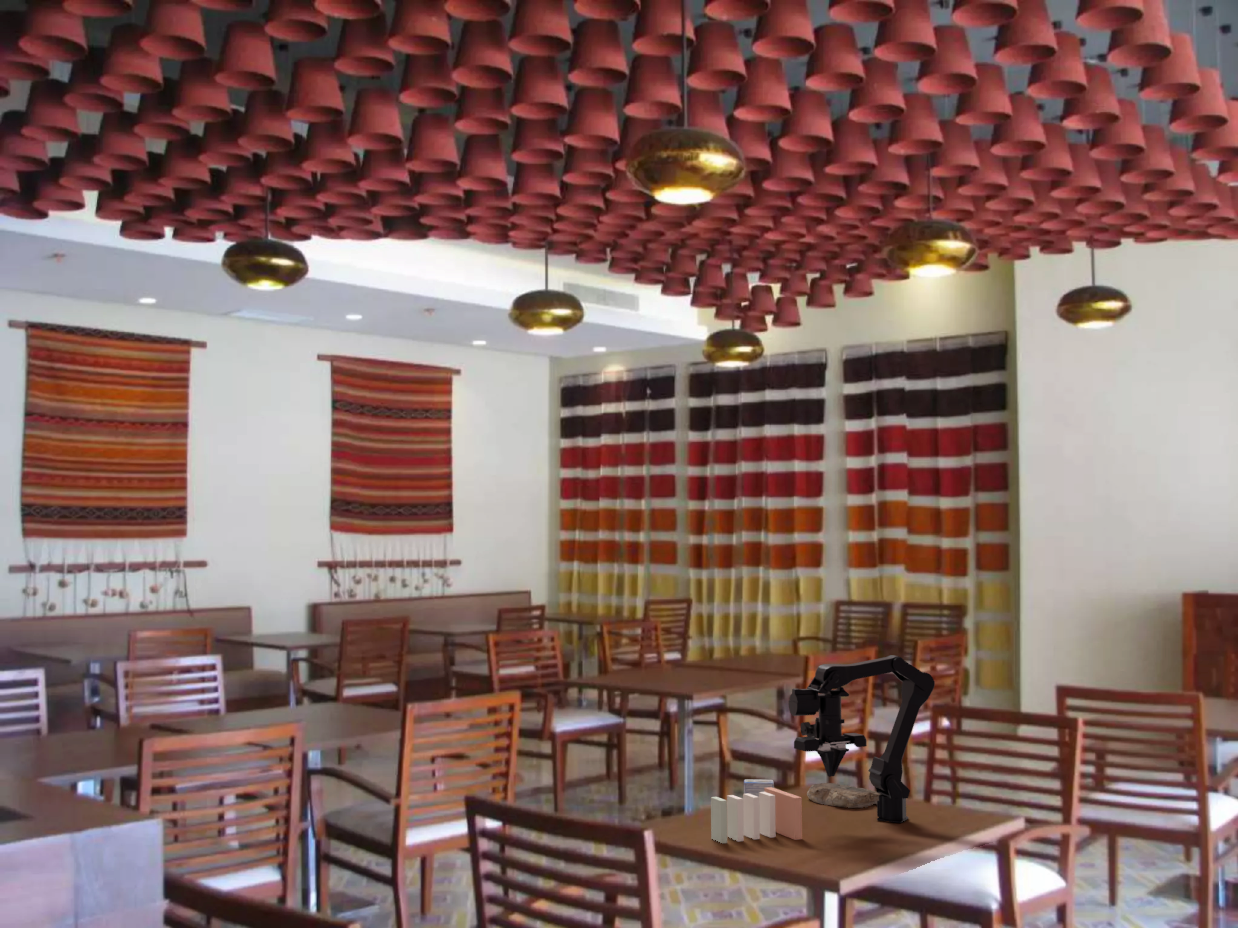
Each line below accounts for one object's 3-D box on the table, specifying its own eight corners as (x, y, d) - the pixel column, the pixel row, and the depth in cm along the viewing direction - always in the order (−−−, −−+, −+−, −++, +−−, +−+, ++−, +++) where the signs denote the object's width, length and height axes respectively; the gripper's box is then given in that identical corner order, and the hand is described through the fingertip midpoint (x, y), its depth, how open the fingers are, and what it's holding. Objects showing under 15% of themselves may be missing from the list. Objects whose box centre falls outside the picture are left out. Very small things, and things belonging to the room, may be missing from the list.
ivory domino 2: (749, 834, 308) (748, 793, 308) (759, 838, 303) (759, 796, 304) (743, 834, 307) (743, 793, 307) (753, 839, 302) (753, 797, 303)
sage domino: (717, 838, 304) (716, 796, 304) (727, 842, 299) (726, 800, 300) (711, 838, 303) (710, 796, 304) (721, 843, 299) (720, 800, 299)
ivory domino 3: (764, 832, 309) (764, 791, 310) (775, 836, 305) (775, 795, 305) (759, 833, 309) (758, 792, 309) (769, 837, 304) (769, 795, 305)
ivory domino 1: (733, 836, 306) (732, 794, 306) (743, 840, 301) (743, 798, 302) (727, 836, 305) (727, 795, 306) (737, 841, 300) (737, 799, 301)
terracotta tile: (771, 827, 315) (771, 786, 316) (802, 839, 303) (801, 797, 303) (764, 827, 315) (764, 787, 315) (795, 839, 302) (794, 797, 302)
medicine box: (774, 812, 332) (773, 779, 333) (774, 815, 328) (774, 782, 328) (744, 811, 333) (743, 778, 334) (744, 815, 329) (743, 782, 329)
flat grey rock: (794, 801, 348) (853, 811, 333) (794, 783, 349) (852, 792, 334) (826, 795, 357) (884, 804, 343) (826, 777, 358) (884, 786, 343)
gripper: (842, 708, 331) (843, 768, 330) (781, 712, 323) (782, 773, 322) (867, 713, 321) (868, 775, 320) (805, 718, 313) (806, 781, 312)
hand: (830, 776), depth 319 cm, fingers closed
